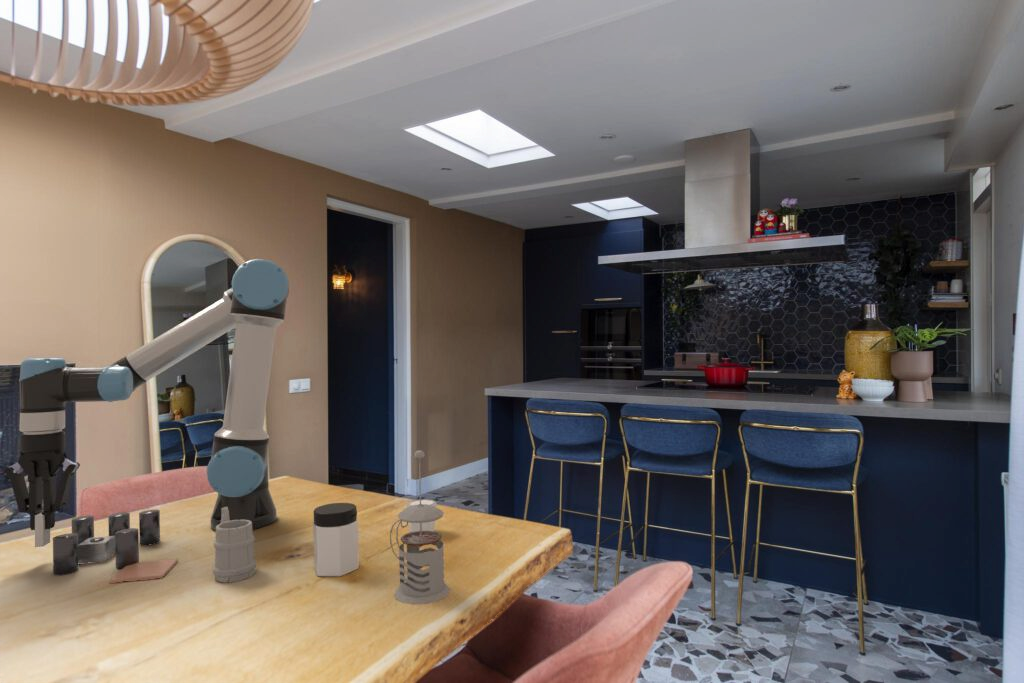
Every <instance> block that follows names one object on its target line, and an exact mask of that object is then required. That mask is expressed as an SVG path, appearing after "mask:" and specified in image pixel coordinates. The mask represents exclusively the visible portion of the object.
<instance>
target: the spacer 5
mask: <svg viewBox="0 0 1024 683" xmlns="http://www.w3.org/2000/svg"><path fill="white" fill-rule="evenodd" d="M160 511H161V510H160V509H147V510H143V511H140V512H139V513H138V520H139V521H138V525H139V526H138V532H139V545H140V544H141V545H140V546H142V545H146V546H150V545H149V544H153V545H155V544H154V543H156V544H158V543H157V542H159V541H160V542H161V518H160V517H161V516H160V514H161V513H160ZM160 542H159V543H160Z"/></svg>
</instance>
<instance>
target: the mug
mask: <svg viewBox="0 0 1024 683" xmlns="http://www.w3.org/2000/svg"><path fill="white" fill-rule="evenodd" d="M221 512H222V514H221V522H220V524H219V525H217V526H216V531H215V540H214V541H213V546H214V547H213V548H214V553H215V554H214V557H215V558H214V564H213V567H212V574H213V575H214V580H215V579H216V580H215V581H217V582H219V581H221V583H234V582H233V581H235V582H239V581H238V580H240V581H242V580H246V579H248V578H251V577H252V576H253V575H254V574H256V567H257V559H256V558H255V552H254V550H255V549H254V543H255V540H256V539H255V535H254V532H253V531H254V530H253V529H252V522H251V521H250V520H232V521H230V518H229V510H228V507H224V508H221ZM228 581H229V582H228Z"/></svg>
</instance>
